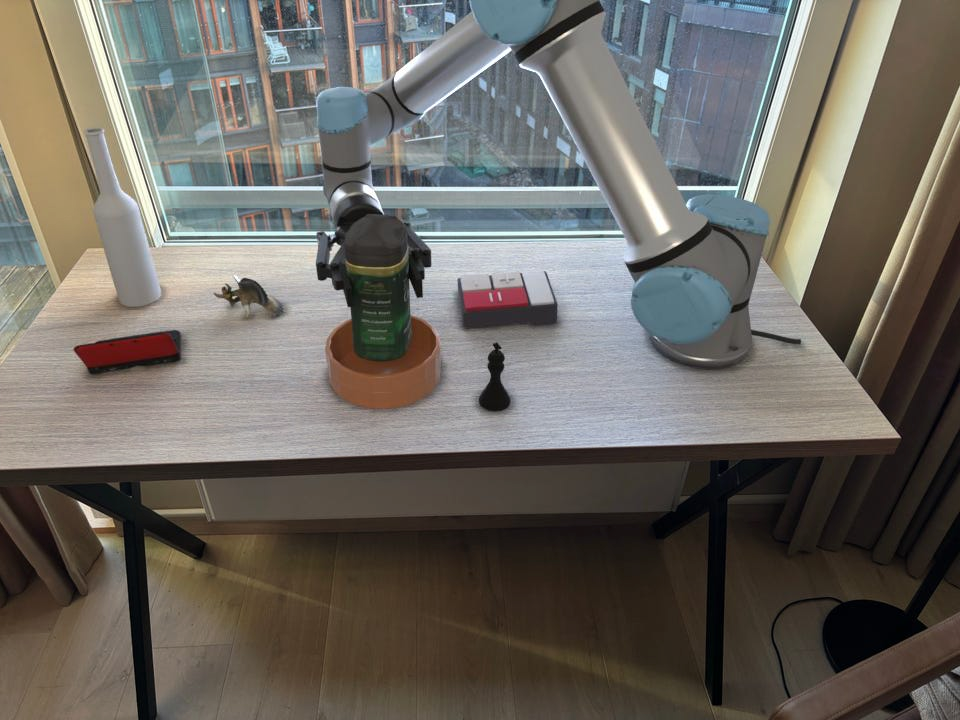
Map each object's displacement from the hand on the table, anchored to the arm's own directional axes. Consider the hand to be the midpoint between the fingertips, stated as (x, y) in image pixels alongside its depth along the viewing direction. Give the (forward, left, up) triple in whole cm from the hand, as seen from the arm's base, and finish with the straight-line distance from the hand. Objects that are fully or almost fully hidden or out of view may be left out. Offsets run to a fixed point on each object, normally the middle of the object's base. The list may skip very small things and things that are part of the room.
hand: (385, 293), depth 98 cm
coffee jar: (+2, -4, -11) cm, 12 cm away
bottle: (+48, -13, -17) cm, 53 cm away
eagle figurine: (+28, -14, -17) cm, 36 cm away
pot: (+2, -4, -16) cm, 17 cm away
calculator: (-11, -26, -17) cm, 33 cm away
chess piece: (-14, -2, -17) cm, 22 cm away
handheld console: (+38, +3, -17) cm, 42 cm away
